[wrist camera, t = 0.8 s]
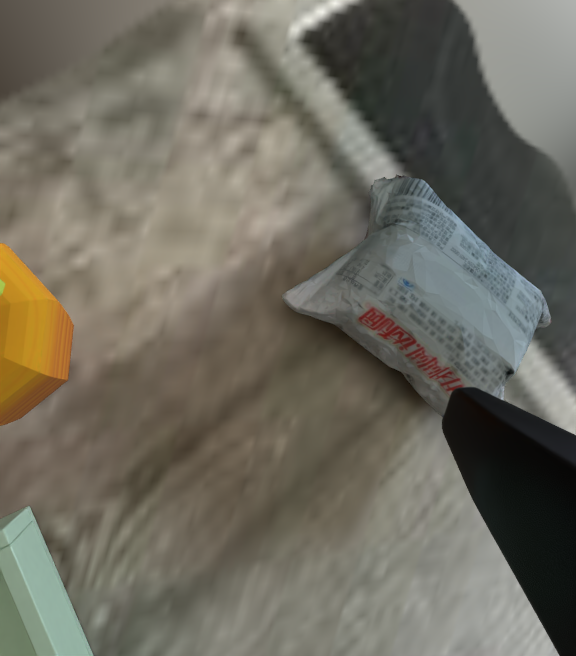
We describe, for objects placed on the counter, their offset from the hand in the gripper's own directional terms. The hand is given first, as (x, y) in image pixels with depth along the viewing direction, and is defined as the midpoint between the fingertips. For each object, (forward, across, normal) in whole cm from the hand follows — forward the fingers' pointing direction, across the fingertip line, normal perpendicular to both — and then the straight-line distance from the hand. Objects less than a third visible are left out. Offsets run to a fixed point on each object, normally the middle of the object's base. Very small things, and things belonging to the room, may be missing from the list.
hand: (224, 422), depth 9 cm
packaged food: (+14, -12, +6) cm, 20 cm away
